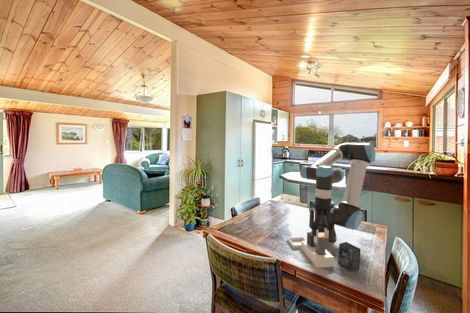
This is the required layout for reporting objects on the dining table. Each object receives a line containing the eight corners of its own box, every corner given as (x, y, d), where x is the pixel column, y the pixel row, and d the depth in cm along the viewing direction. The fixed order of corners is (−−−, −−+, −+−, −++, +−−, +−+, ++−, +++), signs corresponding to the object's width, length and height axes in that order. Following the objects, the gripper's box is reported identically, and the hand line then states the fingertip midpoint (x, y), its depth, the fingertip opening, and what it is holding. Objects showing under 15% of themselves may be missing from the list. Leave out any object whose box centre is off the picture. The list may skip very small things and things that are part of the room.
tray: (303, 240, 135) (303, 236, 135) (310, 249, 125) (310, 244, 125) (287, 241, 134) (287, 237, 134) (293, 249, 124) (293, 245, 123)
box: (337, 263, 110) (338, 243, 110) (345, 261, 113) (346, 241, 112) (351, 272, 103) (352, 250, 102) (359, 269, 106) (361, 248, 105)
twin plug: (314, 249, 123) (315, 226, 122) (318, 253, 118) (320, 230, 117) (306, 249, 122) (307, 227, 121) (310, 254, 117) (311, 230, 116)
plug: (322, 251, 114) (323, 232, 113) (327, 255, 109) (328, 236, 108) (313, 251, 113) (314, 232, 113) (318, 256, 109) (319, 236, 108)
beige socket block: (327, 248, 126) (328, 239, 126) (346, 266, 108) (347, 256, 108) (301, 249, 124) (301, 240, 124) (316, 267, 106) (316, 257, 106)
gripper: (335, 194, 114) (333, 238, 115) (302, 195, 112) (301, 239, 113) (344, 198, 106) (341, 244, 108) (309, 199, 104) (307, 246, 106)
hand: (320, 241), depth 111 cm, fingers closed on plug, 5 cm apart
